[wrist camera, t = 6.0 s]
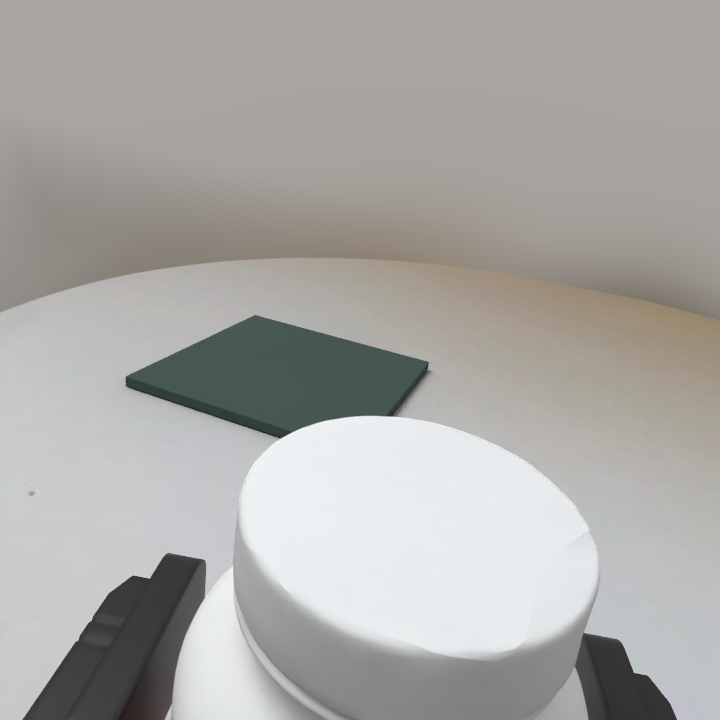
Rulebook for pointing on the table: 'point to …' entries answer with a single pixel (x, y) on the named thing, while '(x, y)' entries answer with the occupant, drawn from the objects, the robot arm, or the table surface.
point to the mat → (281, 377)
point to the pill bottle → (394, 584)
